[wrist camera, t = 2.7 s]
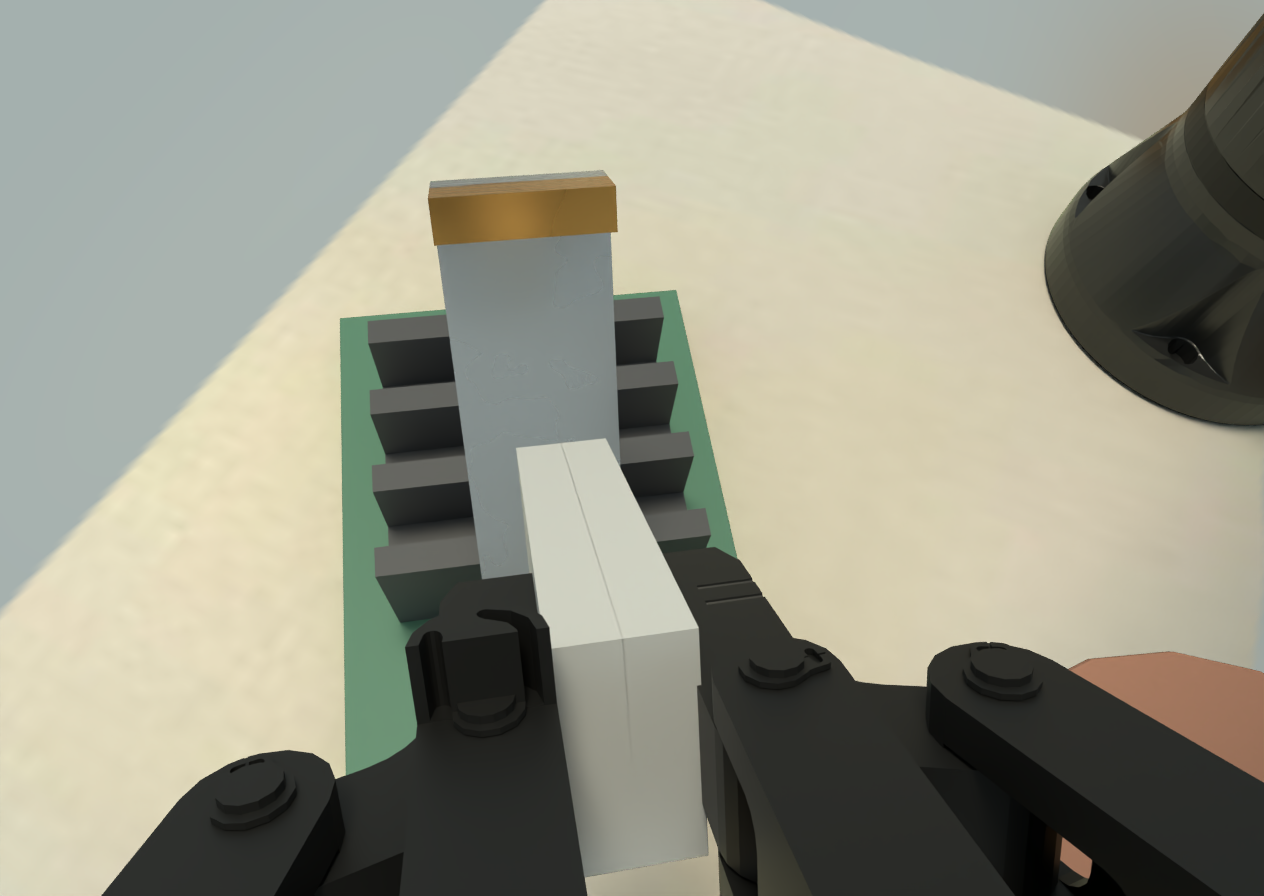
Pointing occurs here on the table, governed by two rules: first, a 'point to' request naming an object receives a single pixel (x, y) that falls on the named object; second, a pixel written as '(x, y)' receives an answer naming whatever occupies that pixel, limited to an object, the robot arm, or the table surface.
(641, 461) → the cpu board
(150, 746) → the table surface
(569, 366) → the silver flat bar
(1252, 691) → the coffee jar
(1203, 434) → the table surface
